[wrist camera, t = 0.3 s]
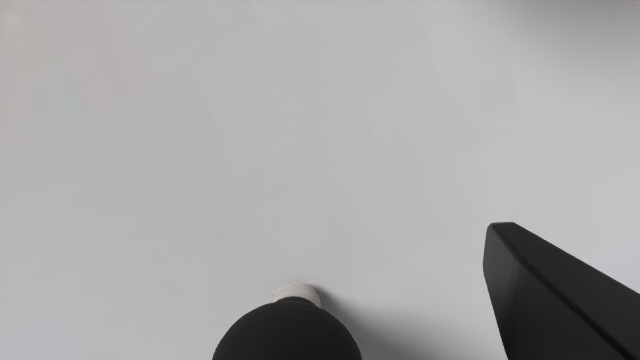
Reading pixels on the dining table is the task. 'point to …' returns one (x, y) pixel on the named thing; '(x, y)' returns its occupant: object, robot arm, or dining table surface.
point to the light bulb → (288, 331)
